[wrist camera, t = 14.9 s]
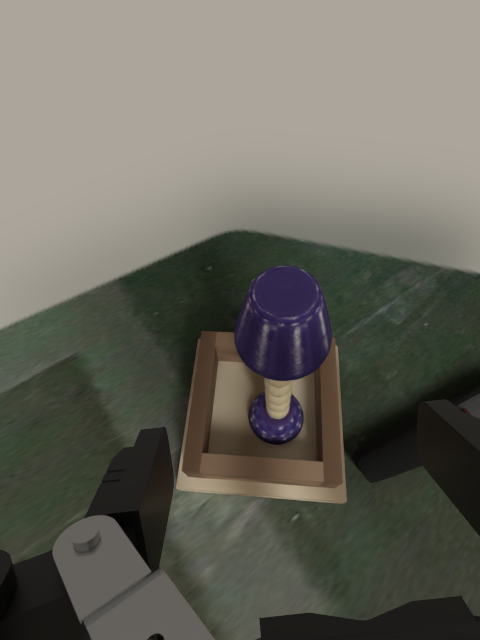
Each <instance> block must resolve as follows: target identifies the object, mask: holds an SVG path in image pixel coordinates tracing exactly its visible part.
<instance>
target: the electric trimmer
mask: <svg viewBox="0 0 480 640" xmlns="http://www.w3.org/2000/svg"><path fill="white" fill-rule="evenodd" d="M449 401H450V402H451V403H452V404H453V405H455V406H456V407H457V408H458V409H460V410H461V411H462V412H463V413H468V414H470V415H472V416H475V417H477V418H479V419H480V384H479V385H477V386H475V387H473V388H472V389H470V390H468V391H466V392H464V393H462V394H461V395H459V396H457V397H455V398H453V399H451V400H449ZM417 416H418V413H415V414H413V415H412V416H410V417H408V418H406V419H405V420H403V421H401V422H400V423H398V424H397V425H395V426H393V427H392V428H390V429H388V430H387V431H385V432H384V433H382V434H380V435H379V436H377V437H376V438H374V439H372V440H371V441H369V442H367V443H366V444H364V445H363V446H362V447H360V448H359V449H357V450H356V451H355V452H354V457H355V460H356V462H357V464H358V467H359V469H360V470H361V472H362V473H363V475H364V476H365V477H366V479H367V480H368V481H369V482H370V483H374V482H378V481H381V480H384V479H387V478H390V477H392V476H395V475H398V474H401V473H403V472H406V471H409V470H412V469H414V468H417V467H420V466H423V465H422V464H421V462H420V459H419V456H418V453H417Z"/></svg>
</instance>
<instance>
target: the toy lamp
mask: <svg viewBox="0 0 480 640" xmlns="http://www.w3.org/2000/svg"><path fill="white" fill-rule="evenodd" d="M234 340H235V346H236V349H237V352H238V354H239V356H240V358H241V359H242V361H243V362H244V363H245V365H246V366H247V367H248V368H250V369H251V370H252V371H253V372H255V373H256V374H258V375H260V376H262V377H264V378H265V379H264V384H265V391H264V392H262V393H261V394H259V395H258V396H257V397H256V398H255V399H254V401H253V402H252V404H251V406H250V409H249V415H248V417H249V424H250V426H251V428H252V430H253V432H254V433H255V435H256V436H257V437H258V438H260V439H261V440H262V441H264V442H266V443H269V444H274V445H281V444H285V443H287V442H289V441H291V440H292V439H294V438H295V437H296V436H297V435H298V434H299V433H300V431H301V429H302V426H303V421H304V415H303V410H302V407H301V405H300V403H299V401H298V400H297V399H296V398H295V397H294V396H293V395H292V389H291V388H292V385H293V380H298V379H301V378H303V377H305V376H308V375H310V374H311V373H313V372H314V371H316V370H317V369H318V368H319V367H320V366H321V365H322V363H323V362H324V360H325V359H326V357H327V355H328V353H329V351H330V347H331V341H332V333H331V326H330V321H329V316H328V311H327V307H326V303H325V299H324V296H323V292H322V289H321V287H320V285H319V283H318V282H317V281H316V279H315V278H314V277H313V276H312V275H311V274H310V273H308V272H307V271H305V270H303V269H301V268H298V267H295V266H288V265H281V266H275V267H272V268H269V269H267V270H265V271H263V272H262V273H261V274H259V275H258V276H257V277H256V278H255V280H254V281H253V282H252V283H251V285H250V287H249V289H248V292H247V295H246V297H245V300H244V302H243V305H242V308H241V311H240V313H239V316H238V319H237V322H236V326H235V332H234Z"/></svg>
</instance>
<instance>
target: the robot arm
mask: <svg viewBox="0 0 480 640" xmlns="http://www.w3.org/2000/svg"><path fill="white" fill-rule="evenodd" d="M417 453H418V456H419V459H420V462H421V464H422V465H423V467H424V468H425V469H426V470H427V472H428V473H429V474H430V475H431V477H432V478H433V479H434V480H435V482H436V483H437V484H438V485H439V486H440V488H441V489H442V490H443V491H444V493H445V494H446V495H447V496H448V498H449V499H450V500H451V501H452V503H453V504H454V505H455V506H456V507H457V509H458V510H459V511H460V512H461V514H462V515H463V516H464V517H465V519H466V520H467V521H468V522H469V524H470V525H471V526H472V527H473V528H474V530H475V531H476V532H477V533H478V535H479V536H480V419H479V418H477V417H475V416H472V415H470V414H468V413H463V412H462V411H461V410H460V409H458V408H457V407H456V406H455V405H453V404H452V403H451V402H450V401H448V400H446V399H442V400H433V401H423V402H420V403H419V406H418V416H417ZM173 487H174V475H173V467H172V460H171V454H170V448H169V442H168V435H167V431H166V428H165V427H162V428H153V429H143V430H141V431H140V432H139V435H138V437H137V440H136V442H135V445H134V447H127V448H123V449H122V450H121V451H120V452H119V453H118V454H117V455H116V456H115V457H114V458H113V459H112V461H111V463H110V465H109V467H108V469H107V473H105V475H104V478H103V480H102V484H100V486H99V488H98V490H97V492H96V495H95V497H94V499H93V501H92V503H91V505H90V507H89V509H88V512H87V514H86V516H85V518H84V519H82V520H80V521H78V522H76V523H74V524H73V525H71V526H70V527H68V528H67V529H66V530H65V531H64V532H63V533H62V534H61V535H60V536H59V537H58V539H57V540H56V542H55V544H54V547H53V550H51V551H49V552H47V553H44V554H42V555H39V556H36V557H33V558H30V559H28V560H25V561H22V562H19V563H16V564H14V565H13V564H12V561H11V557H10V555H9V554H8V553H7V552H5V551H3V550H0V640H215V639H214V638H213V636H212V635H211V634H210V632H209V631H208V630H207V628H206V627H205V626H204V624H203V623H202V622H201V620H200V619H199V617H198V616H197V615H196V613H195V612H194V611H193V609H192V608H191V607H190V605H189V604H188V603H187V601H186V600H185V599H184V597H183V596H182V595H181V593H180V592H179V590H178V589H177V588H176V586H175V585H174V584H173V582H172V581H171V580H170V578H169V577H168V576H167V574H166V573H165V572H164V571H163V570H162V569H161V568H159V563H160V558H161V553H162V547H163V542H164V537H165V532H166V526H167V521H168V516H169V511H170V505H171V500H172V495H173ZM259 619H260V630H261V638H259V639H256V640H480V617H479V616H473V614H472V613H471V611H470V610H469V608H468V607H467V605H466V603H465V602H464V600H463V599H462V597H461V596H457V597H447V598H438V599H429V600H420V601H412V602H409V603H407V604H405V605H402V606H400V607H398V608H395V609H393V610H391V611H388V612H386V613H384V614H381V615H379V616H377V617H374V618H372V619H370V620H365V621H361V620H354V619H347V618H340V617H334V616H327V615H321V614H314V613H303V614H294V615H284V616H275V617H266V618H259Z"/></svg>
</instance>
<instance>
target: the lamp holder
mask: <svg viewBox="0 0 480 640" xmlns="http://www.w3.org/2000/svg"><path fill="white" fill-rule="evenodd" d="M264 379H265V378H264V377H262V376H260V375H258V374H256V373H255V372H253V371H252V370H251V369H250V368H248V367H247V366H246V365H245V363H244V362H243V361H242V359H241V358H240V356H239V354H238V352H237V349H236V346H235V340H234V333H232V332H212V331H202V332H201V339H198V343H197V349H196V356H195V363H194V370H193V376H192V383H191V390H190V397H189V403H188V410H187V417H186V424H185V431H184V437H183V444H182V451H181V458H180V464H179V471H178V478H177V485H176V489H178V490H180V491H192V492H205V493H217V494H230V495H242V496H254V497H267V498H279V499H292V500H304V501H316V502H329V503H341V504H343V503H345V502H347V499H346V481H345V464H344V447H343V429H342V412H341V395H340V378H339V360H338V346H335V338H332V341H331V347H330V351H329V353H328V355H327V357H326V359H325V360H324V362H323V363H322V365H321V366H320V367H319V368H318V369H317V370H316V371H314V372H313V373H311V374H310V375H308V376H305V377H303V378H301V379H298V380H293V385H292V388H291V389H292V395H293V396H294V397H295V398H296V399H297V400H298V401H299V403H300V405H301V407H302V410H303V415H304V421H303V426H302V429H301V431H300V433H299V434H298V435H297V436H296V437H295V438H294V439H292V440H291V441H289V442H287V443H285V444H281V445H274V444H269V443H266V442H264V441H262V440H261V439H260V438H258V437H257V436H256V435H255V433H254V432H253V430H252V428H251V426H250V424H249V417H248V415H249V409H250V406H251V404H252V402H253V401H254V399H255V398H256V397H257V396H258V395H259V394H261V393H262V392H264V391H265V384H264Z"/></svg>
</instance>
